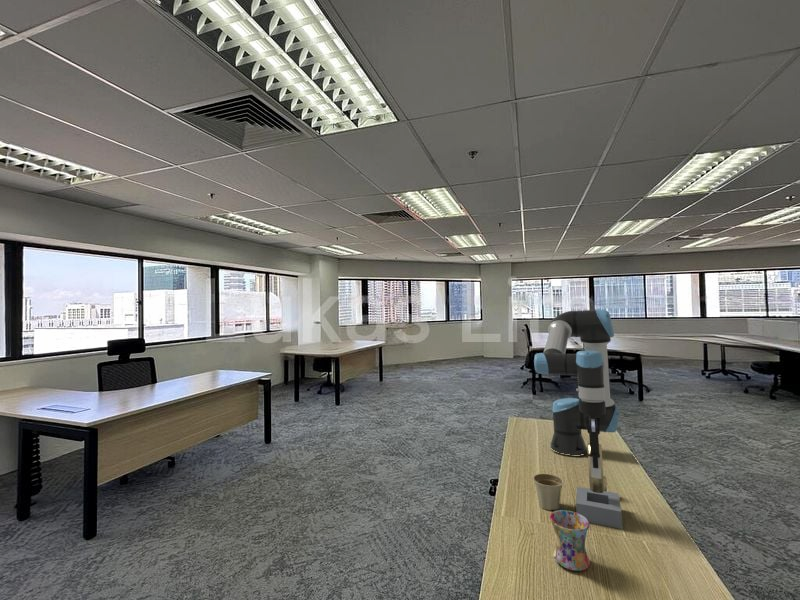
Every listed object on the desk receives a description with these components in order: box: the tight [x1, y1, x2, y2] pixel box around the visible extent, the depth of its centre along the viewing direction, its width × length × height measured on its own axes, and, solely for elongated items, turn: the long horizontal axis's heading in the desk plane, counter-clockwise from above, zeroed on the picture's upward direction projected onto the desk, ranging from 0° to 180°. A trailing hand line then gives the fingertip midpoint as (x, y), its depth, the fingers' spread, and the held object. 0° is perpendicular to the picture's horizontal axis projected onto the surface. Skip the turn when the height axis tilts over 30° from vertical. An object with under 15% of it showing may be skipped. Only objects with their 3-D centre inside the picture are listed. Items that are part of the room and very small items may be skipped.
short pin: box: [603, 475, 608, 491], centre depth 126 cm, size 4×4×6 cm
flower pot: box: [532, 473, 564, 511], centre depth 120 cm, size 9×9×9 cm
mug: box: [549, 509, 591, 572], centre depth 94 cm, size 12×9×11 cm
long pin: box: [586, 442, 604, 493], centre depth 114 cm, size 4×4×14 cm
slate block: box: [575, 486, 623, 530], centre depth 114 cm, size 12×12×5 cm
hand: (596, 474), depth 114 cm, fingers closed on long pin, 4 cm apart
